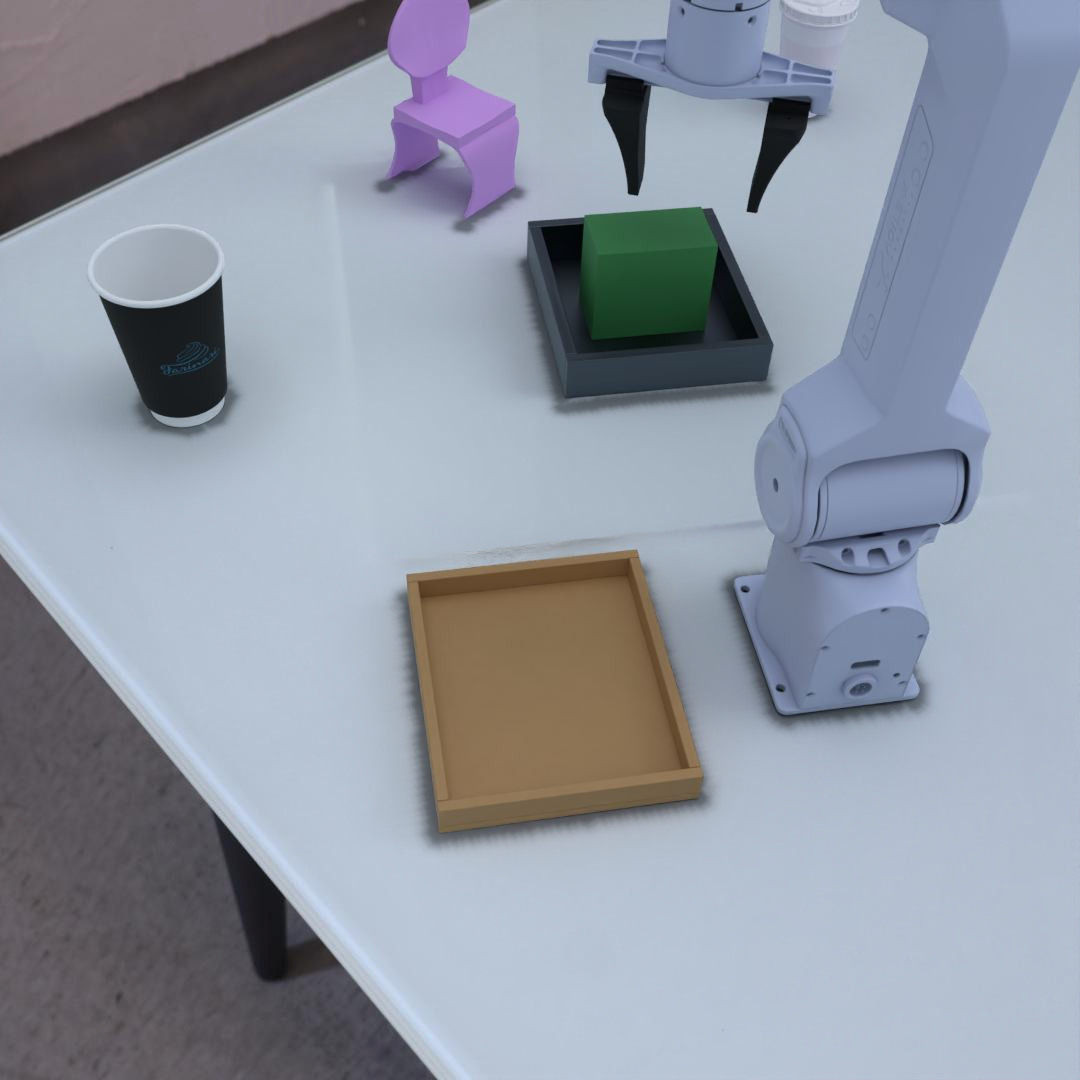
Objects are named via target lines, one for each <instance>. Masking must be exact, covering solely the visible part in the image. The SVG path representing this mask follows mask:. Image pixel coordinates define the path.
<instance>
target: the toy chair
mask: <svg viewBox="0 0 1080 1080" xmlns="http://www.w3.org/2000/svg"><path fill="white" fill-rule="evenodd" d="M470 9H471V8H470V3H469V1H468V0H402V2H401V3H400V5H399V7H398V9H397V11H396V13H395V15H394V18H393V20H392V23H391V26H390V29H389V33H388V36H387V37H388V38H387V43H386V44H387V53H388V58H389V59H390V61H391V63H392V64H393V65H394V66H395V67H396V68H397V69H399V70H401V71H402V72H404V73H406V74H407V75H408V76H409V78H410V85H411V93H412V97H409V98H407V99H405V100H403V101H401V102H399V103H398V104H396V105H394V106H393V107H392V108H393V118H392V119H391V121H390V127H391V131H392V134H393V139H394V153H393V158H392V161H391V164H390V167H389V170H388V172H387V175H386V179H388V180H390V179H392V178H394V177H395V176H397V175H399V174H401V173H402V172H415V171H417V170H418V169H420V168H422V167H423V166H425V165H427V164H428V163H430V162H432V161H433V160H435V159H436V158H438V157H440V155H441V150H440V145H439V141H441V142H442V143H444V144H445V145H447V146H449V147H450V148H452V149H453V150H454V151H455V152H457V154H458V156H459V158H460V159H461V161H462V163H463V165H464V166H465V169H466V170H467V173H468V175H469V177H470V181H471V193H470V194H471V195H470V198H469V201H468V205H467V207H466V209H465V212H464V214H463V218H464V219H468V218H470V217H471V216H473V215H474V214H476V213H477V212H479V211H480V210H482V209H484V208H485V207H486V206H488V205H490V204H491V203H492V202H494V201H496V200H497V199H499V198H500V197H502V196H503V195H504V194H507V193H508V192H509V191H511V190H512V189H514V188H515V187H516V177H515V176H516V175H515V169H516V166H515V165H516V155H517V149H518V143H519V135H520V122H519V118H518V117H517V115H516V109H517V108H516V107H517V106H516V105H517V104H516V103H514V102H511V101H510V100H509V99H505V98H503V97H501V96H497V95H495V94H492V93H489V92H487V91H485V90H483V89H481V88H479V87H476V86H474V85H473V84H472V83H469V82H467V81H465V80H464V79H461V78H460V77H458V76H455V75H453V74H450V75H448V68H449V66H450V65H451V64H452V63H453V62H454V61H455V60H456V59H457V58H458V57H459V56H460V55H461V54H462V53H463V51H464V50H465V49H466V48H467V41H468V35H469V27H470V19H471V10H470Z"/></svg>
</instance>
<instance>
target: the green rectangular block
mask: <svg viewBox="0 0 1080 1080" xmlns="http://www.w3.org/2000/svg"><path fill="white" fill-rule="evenodd" d="M702 209H703V208H702V206H693V207H692V206H691V207H689V206H688V207H677V208H665V209H663V208H662V209H650V210H636V211H635V210H634V211H619V212H608V213H594V214H592V213H591V214H584V216H583V217H584V230H583V245H582V260H581V275H580V290H579V302H580V305H581V308H582V311H583V315H584V318H585V321H586V324H587V328H588V331H589V334H590V337H591V340H598V339H609V338H621V337H633V336H644V335H656V334H668V333H679V332H691V331H703V330H705V325H706V319H707V313H708V306H709V300H710V294H711V287H712V281H713V275H714V268H715V262H716V256H717V249H718V244H717V242H716V240H715V238H714V235H713V233H712V231H711V229H710V226H709V224H708V222H707V219H706V217H705V215H704V213H703V210H702Z"/></svg>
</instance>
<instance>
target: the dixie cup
mask: <svg viewBox="0 0 1080 1080" xmlns="http://www.w3.org/2000/svg"><path fill="white" fill-rule="evenodd" d="M225 265H226V256H225V252H224V249H223V248H222V246H221V244H220V243H219V242H218V240H217V239H216V238H214V237H213V236H212V235H211V234H209V233H207V232H205V231H203V230H201V229H198V228H195V227H193V226H189V225H184V224H179V223H178V224H176V223H157V224H156V223H154V224H153V223H152V224H146V225H141V226H137V227H133V228H129V229H128V230H124V231H122V232H121V231H120V232H119V233H117V234H115V235H113V236H112V237H109V238H108V239H107V240H105V241H104V242H102V244H100V245H99V246H98V247H97V248H96V249H95V250H94V251H93V253H92V254H91V256H90V257H89V259H88V262H87V266H86V278H87V281H88V283H89V285H90V287H91V288H92V290H93V291H94V292H95V293H96V294H97V295H98V297H99V299H100V301H101V303H102V306H103V309H104V311H105V313H106V314H105V315H106V316H107V318H108V321H109V323H110V325H111V328H112V330H113V333H114V335H115V338H116V340H117V342H118V345H119V348H120V349H121V352H122V354H123V357H124V360H125V362H126V365H127V366H128V369H129V371H130V374H131V376H132V379H133V381H134V383H135V385H136V388H137V391H138V392H139V395H140V398H141V400H142V402H143V403H144V406H146V408H148V410H149V411H150V413H151V414H152V416H153V417H154V419H156V420H157V422H159V423H160V424H163V425H166V426H170V427H175V428H191V427H195V426H199V425H202V424H205V423H207V422H208V421H209V422H210V420H212V419H214V418H215V417H216V416H217V415H218V414H219V413H221V411H222V409H223V408H224V405H225V400H226V399H225V398H226V397H225V396H226V394H227V391H228V373H227V372H228V369H227V351H226V350H227V349H226V333H225V314H224V295H223V293H224V292H223V272H224V270H225Z"/></svg>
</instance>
